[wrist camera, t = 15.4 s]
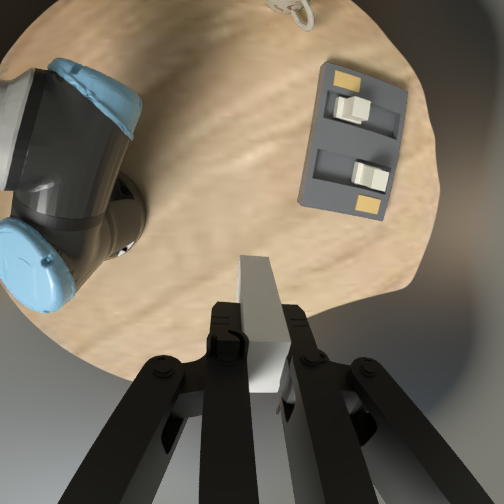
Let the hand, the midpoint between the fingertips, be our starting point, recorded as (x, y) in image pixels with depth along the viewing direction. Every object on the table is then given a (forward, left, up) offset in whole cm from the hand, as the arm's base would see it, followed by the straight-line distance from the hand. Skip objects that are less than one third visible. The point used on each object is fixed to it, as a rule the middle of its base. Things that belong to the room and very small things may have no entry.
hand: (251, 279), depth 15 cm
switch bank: (+15, +10, -29) cm, 34 cm away
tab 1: (+13, +14, -27) cm, 33 cm away
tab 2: (+18, +5, -27) cm, 33 cm away
